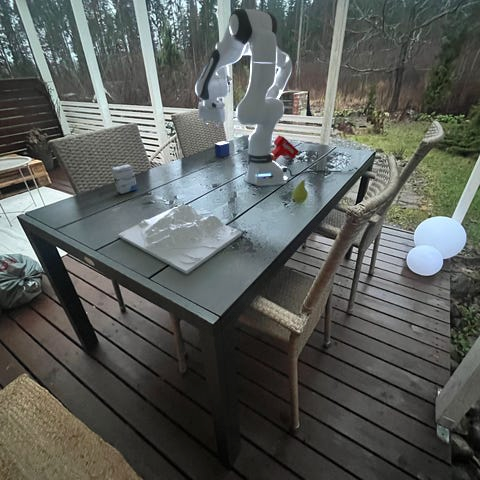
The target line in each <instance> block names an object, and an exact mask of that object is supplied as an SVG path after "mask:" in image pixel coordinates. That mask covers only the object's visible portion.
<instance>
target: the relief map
mask: <svg viewBox="0 0 480 480" xmlns="http://www.w3.org/2000/svg"><path fill="white" fill-rule="evenodd" d="M242 235H243V231H242V230H239V229H238V228H234V227H231V226H229V225H226V224H224V223H223V222H222V221H221V220H220V219H219V218H218V216H216V215H214V214H212V215H210V216H207V217H205V216H204V215H203V214H199V213H198V212H197V211H196V209H195V208H194V207H193V206H192V205H191V204H187V205H186V204H185V202H182V204H180V205H179V206H174V207H171V208H170V209H168V210H165V211H163V212H161V213H159V214H157V215H154V216H153V217H150V218H149V219H143V220H141V221H140V222H139V223H138V224H137V225H134V226H132V227H129V228H128V229H126V230H123V231H122V232H120V233H117V236H118V238H120V239H121V240H123V241H125V242H127V243H129V244H131V245H132V246H134V247H136V248H138V249H140V250H141V251H143V252H145V253H147V254H149V255H151V256H153V257H154V258H156V259H158V260H160V261H162V262H163V263H165V264H166V265H169V266H171V267H173V268H175V269H176V270H178V271H180V272H182V273H183V274H185V275H188V274H190V273H191V272H192V271H193V270H195V269H196V268H198V267H199V266H201V265H202V264H203V263H205V262H206V261H208V260H209V259H211V258H212V257H214V256H215V255H216V254H217V253H219V252H220V251H222V250H223V249H224V248H226V247H227V246H229V245H230V244H231V243H233V242H235V241H236V240H237V239H238V238H240V237H241V236H242Z"/></svg>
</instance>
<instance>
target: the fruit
mask: <svg viewBox="0 0 480 480" xmlns="http://www.w3.org/2000/svg"><path fill="white" fill-rule="evenodd" d="M310 177H311V175H310V174H309V175H308V176H307V177H305V179H302V180H301V181H300V182H298V184H297V185H296V186H295V187H294V188H293V190H292V191H291V198H292V200H293V201H294V202H295V203H297V204H301V203H304V202H305V201H306V200H307V198H308V196H309V195H308V190H307V189H306V184H305V183H306V180H308V179H309V178H310Z"/></svg>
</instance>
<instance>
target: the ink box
mask: <svg viewBox="0 0 480 480" xmlns="http://www.w3.org/2000/svg"><path fill="white" fill-rule="evenodd" d="M110 170H111V173H112V176H113V181H114V184H115V188H116V191H117V192H118V193H119V194H121V195H122V194H126V193H130V192H132V191H133V192H134V191H136V190H138V185H137V181H136V177H135V171H134V167H133V165H130V164H124V165H120V166H119V165H118V166H115V167H111V168H110Z"/></svg>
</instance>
